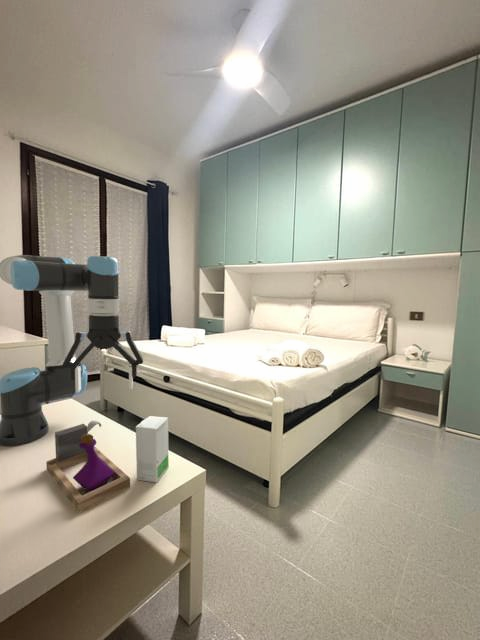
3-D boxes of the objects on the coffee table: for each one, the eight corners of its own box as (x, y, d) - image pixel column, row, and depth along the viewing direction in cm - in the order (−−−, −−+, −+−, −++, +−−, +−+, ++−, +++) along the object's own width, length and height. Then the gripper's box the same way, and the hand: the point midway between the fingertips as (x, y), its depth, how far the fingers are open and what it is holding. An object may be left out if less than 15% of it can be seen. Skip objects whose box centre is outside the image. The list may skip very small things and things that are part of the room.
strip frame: (46, 469, 87) (45, 435, 86) (92, 452, 97) (91, 421, 95) (78, 512, 71) (77, 471, 70) (130, 486, 80) (129, 449, 79)
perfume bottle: (89, 500, 75) (87, 432, 73) (73, 488, 79) (70, 424, 77) (115, 483, 81) (114, 420, 79) (99, 474, 85) (97, 414, 83)
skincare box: (156, 483, 82) (156, 429, 80) (134, 480, 83) (133, 426, 81) (169, 466, 90) (169, 416, 88) (149, 463, 91) (149, 414, 90)
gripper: (47, 315, 74) (50, 397, 77) (151, 316, 81) (151, 391, 83) (56, 312, 81) (59, 387, 84) (151, 313, 88) (151, 382, 91)
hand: (105, 389), depth 84 cm, fingers open, 13 cm apart
